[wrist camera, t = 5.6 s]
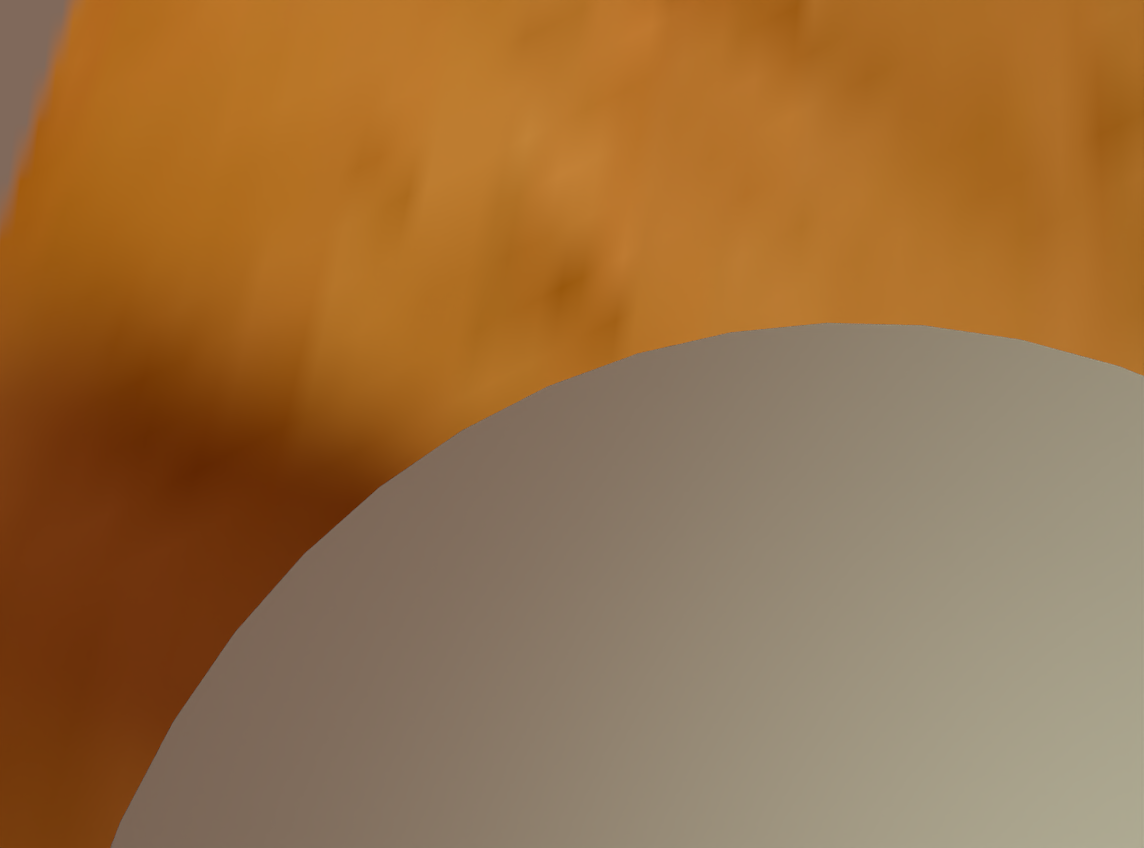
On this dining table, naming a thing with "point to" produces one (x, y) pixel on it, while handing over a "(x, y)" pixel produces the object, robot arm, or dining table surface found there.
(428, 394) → the dining table surface
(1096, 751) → the white post
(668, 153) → the dining table surface
